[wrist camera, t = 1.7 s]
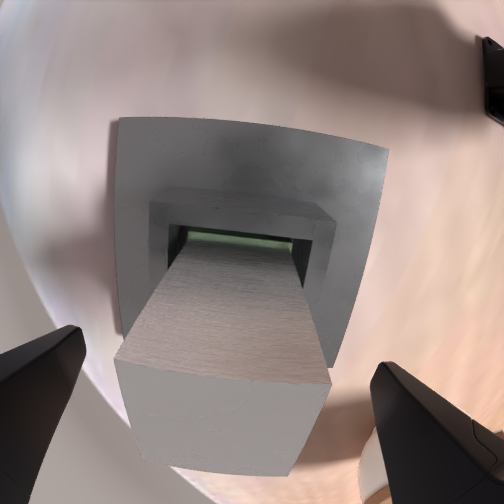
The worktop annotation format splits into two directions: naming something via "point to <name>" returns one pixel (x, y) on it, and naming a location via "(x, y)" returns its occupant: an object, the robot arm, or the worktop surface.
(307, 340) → the grey tall block
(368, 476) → the lidded bowl
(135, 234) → the stand base
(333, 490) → the worktop surface
